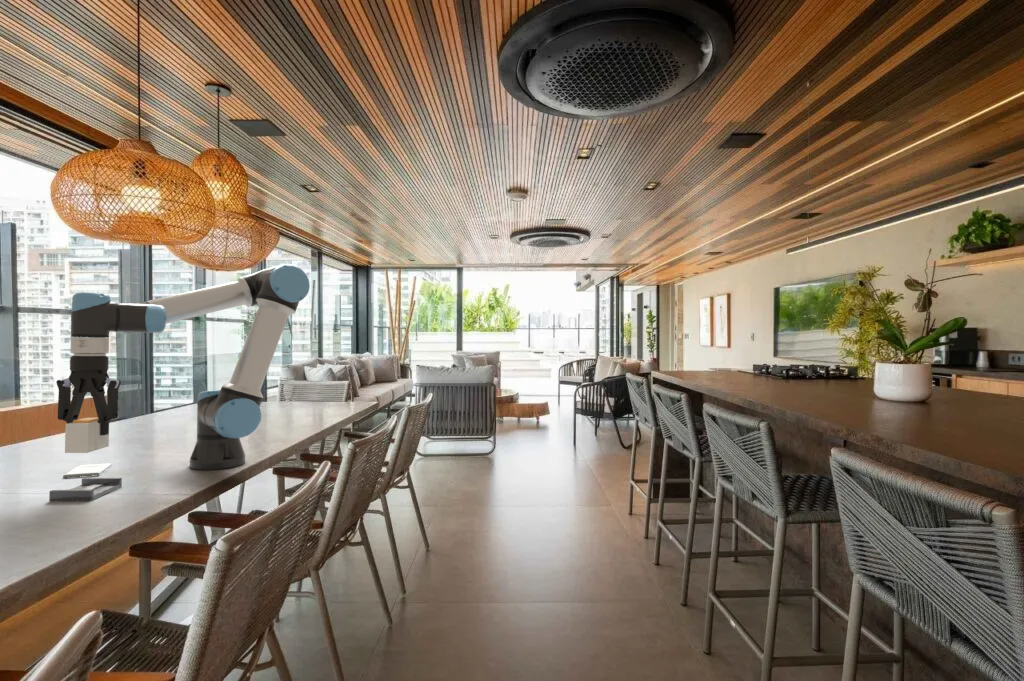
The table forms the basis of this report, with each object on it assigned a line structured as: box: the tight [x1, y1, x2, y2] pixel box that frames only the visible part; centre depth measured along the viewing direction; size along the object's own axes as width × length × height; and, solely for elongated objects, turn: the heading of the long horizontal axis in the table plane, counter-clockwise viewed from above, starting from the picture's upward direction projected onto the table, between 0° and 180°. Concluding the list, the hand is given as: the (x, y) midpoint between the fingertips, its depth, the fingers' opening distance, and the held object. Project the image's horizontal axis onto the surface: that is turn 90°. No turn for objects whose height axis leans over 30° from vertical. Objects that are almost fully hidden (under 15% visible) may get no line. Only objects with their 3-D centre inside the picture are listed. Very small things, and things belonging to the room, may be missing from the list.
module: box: [64, 417, 110, 454], centre depth 132 cm, size 5×8×8 cm, turn 7°
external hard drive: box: [62, 462, 113, 479], centre depth 153 cm, size 2×8×12 cm
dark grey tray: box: [48, 477, 123, 502], centre depth 132 cm, size 9×12×2 cm
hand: (87, 448), depth 132 cm, fingers closed on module, 5 cm apart
